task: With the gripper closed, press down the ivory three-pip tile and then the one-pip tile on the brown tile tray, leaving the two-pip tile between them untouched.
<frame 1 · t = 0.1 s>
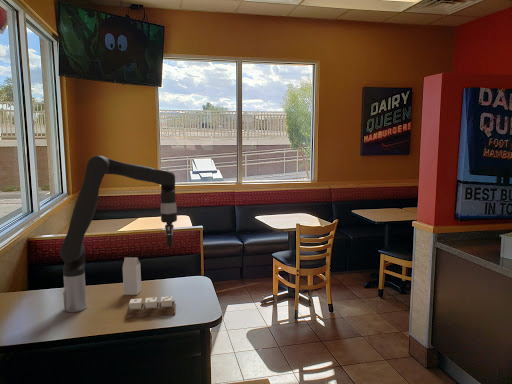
hand: (169, 244, 195), 29 cm above the table, fingers open, 8 cm apart
milk carton: (132, 292, 211), on the table
tile three: (166, 304, 187), point 3 cm above the table, slide at 0.0 cm
brown tile tray: (151, 312, 186), on the table
tile one: (135, 307, 185), point 3 cm above the table, slide at 0.0 cm
tile two: (151, 305, 186), point 3 cm above the table, slide at 0.0 cm
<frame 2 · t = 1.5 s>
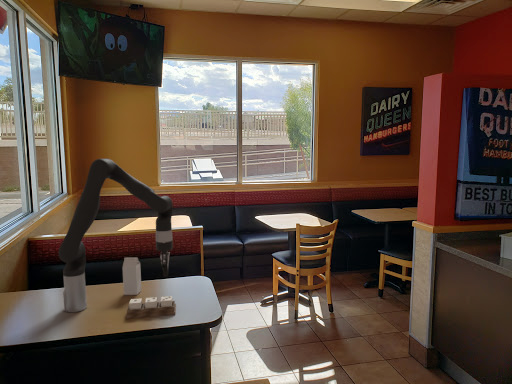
hand: (165, 275, 185), 17 cm above the table, fingers closed
nothing on the table moved.
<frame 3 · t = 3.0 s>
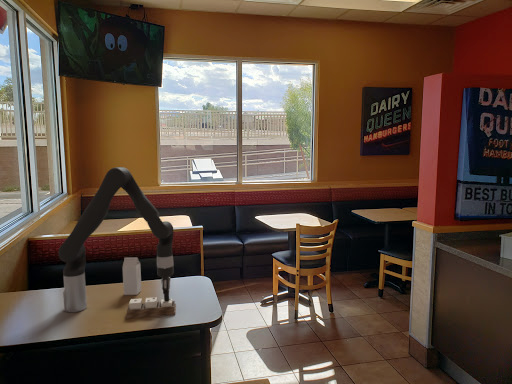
hand: (166, 300, 187), 5 cm above the table, fingers closed
tile three: (166, 307, 187), point 2 cm above the table, slide at -1.2 cm, touching gripper
everything else where it was.
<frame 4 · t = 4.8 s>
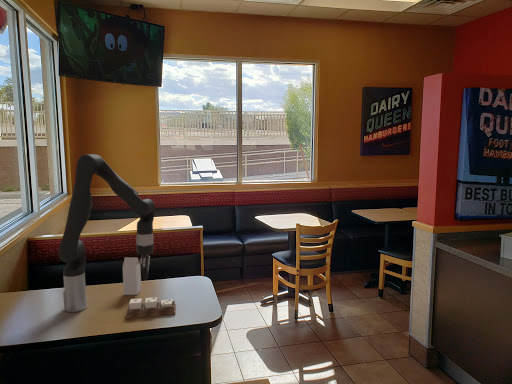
hand: (145, 279, 184), 16 cm above the table, fingers closed
tile three: (166, 307, 187), point 1 cm above the table, slide at -1.6 cm
everything else where it was.
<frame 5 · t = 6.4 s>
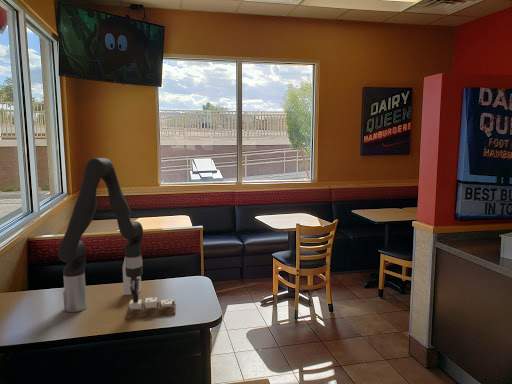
hand: (135, 301, 185), 6 cm above the table, fingers closed
tile one: (135, 308, 185), point 3 cm above the table, slide at -0.5 cm, touching gripper
everything else where it was.
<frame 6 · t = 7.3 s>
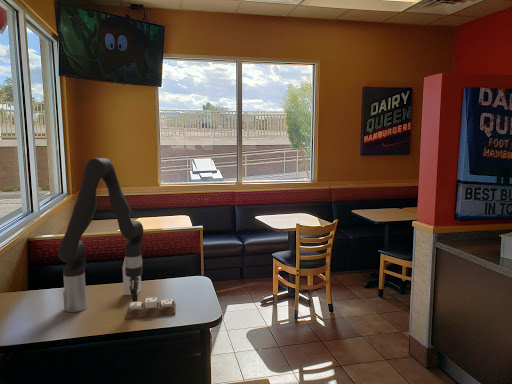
hand: (135, 301, 184), 6 cm above the table, fingers closed
tile one: (136, 310, 185), point 1 cm above the table, slide at -1.6 cm
everything else where it was.
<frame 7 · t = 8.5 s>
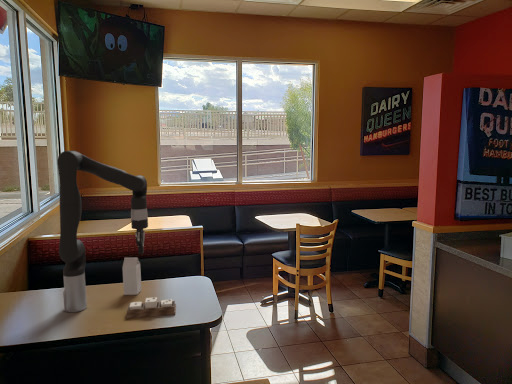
hand: (141, 253, 190), 26 cm above the table, fingers closed
nothing on the table moved.
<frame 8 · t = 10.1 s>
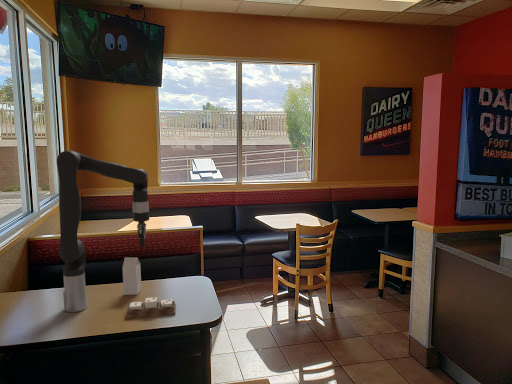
hand: (142, 245, 193), 29 cm above the table, fingers closed
nothing on the table moved.
at the end: tile three slide at -1.6 cm; tile one slide at -1.6 cm; tile two slide at 0.0 cm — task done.
